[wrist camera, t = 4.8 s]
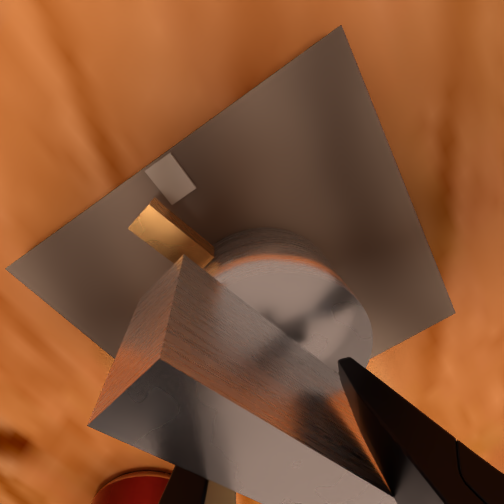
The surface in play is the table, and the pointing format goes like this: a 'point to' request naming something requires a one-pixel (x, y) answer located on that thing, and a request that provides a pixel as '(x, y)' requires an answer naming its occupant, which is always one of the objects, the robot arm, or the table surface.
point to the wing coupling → (244, 367)
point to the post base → (260, 205)
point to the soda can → (134, 488)
